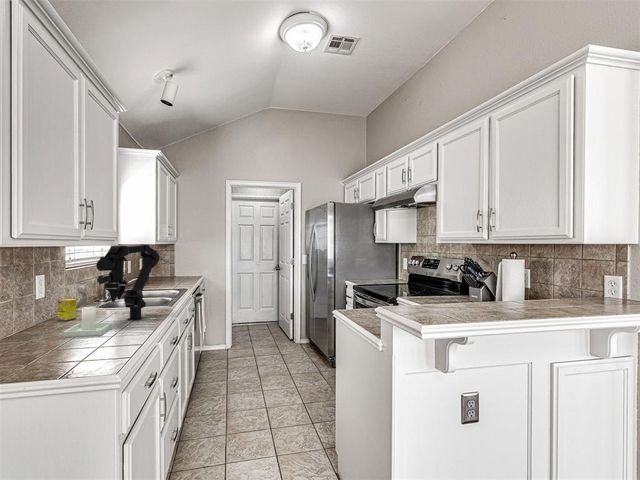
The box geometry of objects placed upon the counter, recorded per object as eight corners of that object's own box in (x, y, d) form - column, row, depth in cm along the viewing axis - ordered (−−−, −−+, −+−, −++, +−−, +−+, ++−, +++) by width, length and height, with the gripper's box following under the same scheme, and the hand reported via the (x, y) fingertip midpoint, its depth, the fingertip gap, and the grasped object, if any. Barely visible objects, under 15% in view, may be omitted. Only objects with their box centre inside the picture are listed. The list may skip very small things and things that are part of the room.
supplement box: (57, 320, 189) (57, 299, 189) (68, 318, 194) (68, 298, 194) (65, 321, 187) (65, 300, 187) (76, 319, 193) (76, 298, 193)
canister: (80, 330, 167) (80, 307, 167) (94, 328, 171) (94, 305, 171) (82, 333, 163) (82, 309, 163) (96, 331, 167) (96, 307, 167)
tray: (77, 329, 173) (77, 323, 173) (112, 327, 176) (112, 322, 176) (62, 337, 158) (63, 331, 158) (100, 336, 161) (100, 330, 161)
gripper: (105, 268, 190) (104, 298, 190) (92, 271, 172) (91, 303, 172) (128, 269, 193) (127, 298, 193) (118, 271, 175) (117, 303, 175)
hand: (116, 300), depth 183 cm, fingers open, 9 cm apart
